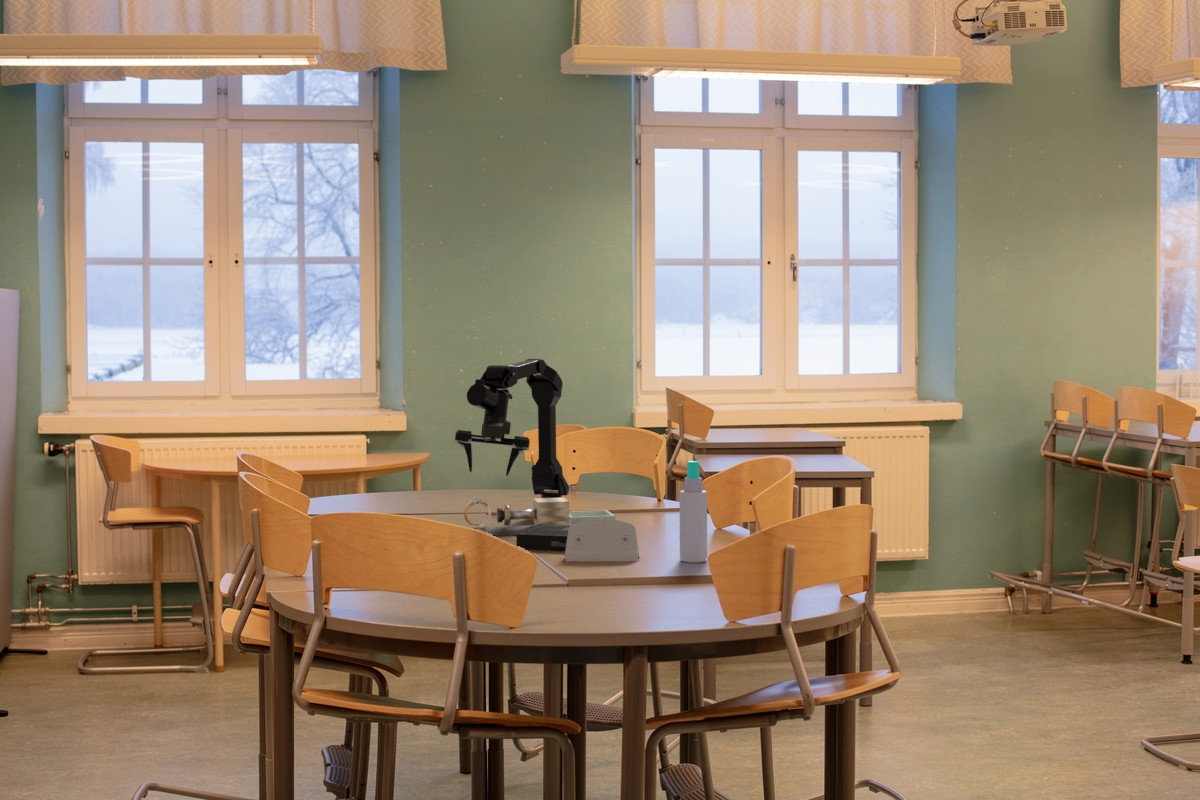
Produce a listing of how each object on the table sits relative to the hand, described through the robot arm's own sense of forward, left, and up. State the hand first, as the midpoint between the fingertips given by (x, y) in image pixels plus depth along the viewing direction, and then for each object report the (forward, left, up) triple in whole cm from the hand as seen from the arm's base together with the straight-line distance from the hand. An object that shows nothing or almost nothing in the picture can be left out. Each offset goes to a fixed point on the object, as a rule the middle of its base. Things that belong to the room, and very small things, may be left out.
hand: (488, 474), depth 298 cm
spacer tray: (-13, +28, -15) cm, 34 cm away
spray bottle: (+47, +40, -16) cm, 64 cm away
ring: (-12, -2, -16) cm, 20 cm away
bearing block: (-2, +12, -15) cm, 20 cm away
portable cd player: (+19, +15, -16) cm, 29 cm away
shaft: (-2, +8, -13) cm, 16 cm away
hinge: (+39, +21, -16) cm, 47 cm away
